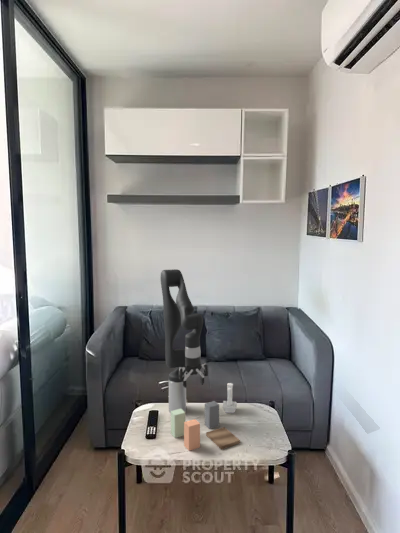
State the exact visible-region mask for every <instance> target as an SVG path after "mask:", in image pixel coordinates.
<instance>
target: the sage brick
mask: <svg viewBox="0 0 400 533" xmlns="http://www.w3.org/2000/svg"><path fill="white" fill-rule="evenodd" d="M184 422H186V412H184V411H183V410H182V409H177V410H174V411H171V413H170V434H171V436H172V437H173V438H174V439H177V438H180V437H184Z"/></svg>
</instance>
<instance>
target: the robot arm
mask: <svg viewBox="0 0 400 533" xmlns="http://www.w3.org/2000/svg"><path fill="white" fill-rule="evenodd" d="M160 286H161V294H162V304H163V305H162V306H163V324H164V325H163V326H164V336H165V340H164V341H165V343H164V344H165V346H164V348H165V351H164V352H165V356H164V357H165V365H166V367H167V368H168V369H173V370H172V371H171V372H169V374H168V412H169V413H170V414H171V411H174V410H177V409H182V410H183V411H184V412H185V413H186V411H187V379H188V378H189V377H190V376H193V375H195V376H196V375H198V374H199V376H200V385H201V386H203V385H204V384H205V378H206V377H208V376H209V373H208V372H209V371H208V365H207V363H205V362H203V363H202V364H201V362H202V360H201V359H202V357H201V353H202V352H201V334H202V329H203V326H204V318H203V315H201V314H200V313H194V311H195V309H194V308H195V307H194V305H193V303H192V301H191V299H190V297H189V295H188V291H187V290H188V289H187V287H186V282H185V279H184V276H183V274H182V271H181V270H180V269H174V268H173V269H163V270H161V272H160ZM173 287H174V288H175V287H177V288H178V292H177V295H176V298H175V300H174V298H173V296H172V294H171V290H170V288H173ZM181 328H182V329H184V330H185V331H188V330H189V332H188V333H186V334H185V335H184V336H185V337H184V341H185V342H184V346H185V348H175V349H174V342H175V339H176V337H177V335H178V332H179V331H180V329H181ZM190 330H191V331H190ZM174 368H175V369H174ZM202 368H203V372H202V371H201V369H202Z"/></svg>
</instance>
